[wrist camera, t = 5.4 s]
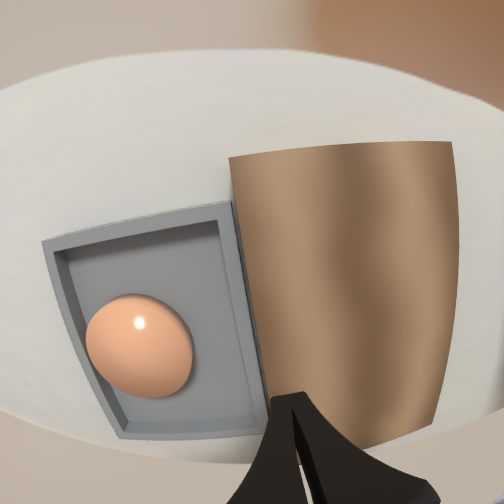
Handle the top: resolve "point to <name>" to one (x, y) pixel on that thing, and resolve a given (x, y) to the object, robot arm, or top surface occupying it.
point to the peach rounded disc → (140, 346)
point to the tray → (184, 303)
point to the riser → (353, 278)
